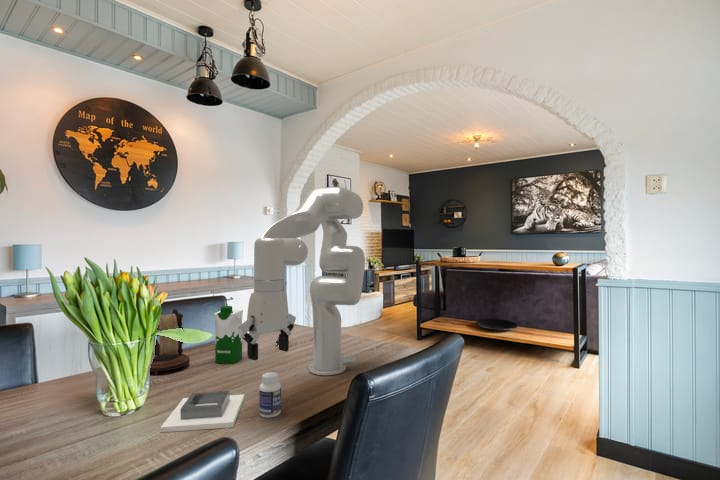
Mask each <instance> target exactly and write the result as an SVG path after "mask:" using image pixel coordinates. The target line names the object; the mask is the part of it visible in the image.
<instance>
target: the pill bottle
mask: <svg viewBox="0 0 720 480" xmlns="http://www.w3.org/2000/svg"><path fill="white" fill-rule="evenodd" d="M261 377H262V378H261V381H262V382H261V383H260V385H259V387H258V388H259V391H258V395H259V400H258V401H259V402H258V403H259V404H258V406H259V409H258V410H259V416H260V417H262V418H275V417H277V416H280V414H281V412H282V385H281V382H279V373H278V372H273V371H270V372H266V373H263V374H262V375H261Z"/></svg>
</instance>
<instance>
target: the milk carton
mask: <svg viewBox="0 0 720 480" xmlns="http://www.w3.org/2000/svg"><path fill="white" fill-rule="evenodd" d="M243 312H244V311H243V309H233V306H232V305H222V306H220V309H219V311H217V312H214V313H213V316H214V317H213V318H214V335H215V336H214V337H215V338H214V340H215V341H214V343H215V345H214V350H215V351H214V354H215V356H214V357H215V361H214V362H215V364H222V365H223V364H227V365H229V364H230V365H235V364H236V363H237V362H239V361H240V360H241V359H242V358H243V338H242V337H241V334H240V332H239V330H238V327H239V326H240V325H241V324H243Z"/></svg>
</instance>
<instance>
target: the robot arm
mask: <svg viewBox="0 0 720 480" xmlns="http://www.w3.org/2000/svg"><path fill="white" fill-rule="evenodd" d="M363 212H364V202H363V199H362V198H361V196H360V195H359V194H357V193H356V192H354V191H352V190H351V189H348V188H346V187H342V186H330V187H316V188H313V189H311V190H310V191H309V192H308V193H307V194H306V196H305V197H304V199H303V200H302V201H301V203H300V204H299V205H298V207H297V208H296V210H295V211H294V212H292V213H290V214H288V215H286V216H285V217H283V218H281V219H279V220H277V221H276V222H275V223H273V224H271V225H270V226H269V227H268V228H267V229H266V230H265V231H264V232H263V234H262V235H261V236H260V237H259V238H256V240H254V246H253V247H254V248H253V261H254V262H253V292H251V293H250V296H249V299H248V306H247V314H246V315H247V317H246V320H245V321H244V322H242V324H241V325H240V326H239V327H238V330H239V332H240V334H241V337H242V340H244V341H245V343H247V345H246V347H247V349H246V351H247V355H246V356H247V359H249V360H252V361H257V360H259V343H257V341H258V340H259V338H260V337H261V335H267V334H270V333H274V332H279V334H278V337H279V347H278V350H279V351H282V352H286V353H287V352H289V351H290V348H289V347H290V346H289V344H290V343H289V341H290V337H289V336H291V334H292V331H293V329H294V326H295V322H296V319H297V317H296V316H295V315H293V314H291V313H289V303H288V296H287V292H286V291H285V286H287V283H288V282H287V281H286V280H285V267H286V266H292V267H293V266H299V265H301V264H303V263H305V261H306V259H307V257H308V254H309V253H308V251H309V250H308V246H307V244H306V242H305V241H303V239H300V238H302V237H305V236H308V235H310V234H311V235H312V234H313V233H315V232H316V231H317V230H318V229H319V227H320V226H321V228H322V231H323V232H322V233H323V234H322V235H323V236H322V243H321V249H320V255H319V262H318V263H319V269H320V270H321V271H322V272H324V273H329V274H347V276H343V275H341V276H339V275H320V276H316V277H315V278H313V280H312V281H311V283H310V284H309V295H310V300H311V306H312V345H313V346H312V347H313V348H312V349H313V350H312V353H313V354H312V355H313V356H312V358H313V361H312V363H310V364H309V365H308V371H309V372H310V373H312V374H313V375H318V376H333V375H338V374H341V373H344V372H345V371H346V369H347V364H350V365H352V364H356V357H352V356H351V355H349V356H344V355H343V354H342V316H341V312H340V310H339V309H338V306H339V305H340V306H355V305H357V304H358V303H360V300H361V297H362V291H363V283H364V276H365V268H366V267H365V265H366V258H365V256H366V255H365V253H364V250H363V249H362V248H361V247H359V246H357V245H356V246H355V245H347V241H348V233H347V231H346V229H345V227H344V225H342V223H341V222H340V221H339V220H356V219H359V218H360V217H361V216H362V214H363ZM337 305H338V306H337ZM280 333H281V334H280Z"/></svg>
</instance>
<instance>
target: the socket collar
mask: <svg viewBox="0 0 720 480" xmlns="http://www.w3.org/2000/svg"><path fill="white" fill-rule="evenodd" d="M230 395H231V394H230V390H221V391H220V390H219V391H205V392H203V391H202V392H192V393H191V394H190V396H189V397H187V398H188V400H187V401H186V402H185V404H184V405H183V406H182V408H181V419H194V418H208V417H222V415H223V413H224V411H225V409H226V407H227V404H228V402H229V400H230ZM206 403H218V404H217V405H201V406H195V405H196V404H206Z"/></svg>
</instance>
